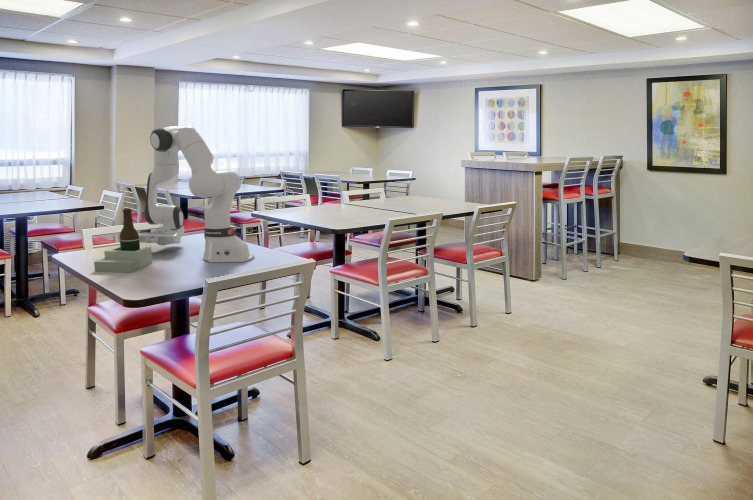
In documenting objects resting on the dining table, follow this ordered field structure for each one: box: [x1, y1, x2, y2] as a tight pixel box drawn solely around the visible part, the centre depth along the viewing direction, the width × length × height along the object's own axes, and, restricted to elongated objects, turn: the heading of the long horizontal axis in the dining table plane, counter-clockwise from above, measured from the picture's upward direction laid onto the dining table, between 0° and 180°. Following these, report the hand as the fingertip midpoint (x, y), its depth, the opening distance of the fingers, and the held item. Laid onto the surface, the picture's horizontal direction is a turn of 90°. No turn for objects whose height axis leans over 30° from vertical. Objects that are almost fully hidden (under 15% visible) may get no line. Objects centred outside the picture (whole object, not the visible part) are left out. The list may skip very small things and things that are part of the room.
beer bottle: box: [119, 208, 141, 251], centre depth 258 cm, size 8×8×24 cm
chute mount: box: [93, 245, 153, 273], centre depth 254 cm, size 16×18×7 cm
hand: (148, 241), depth 274 cm, fingers closed
